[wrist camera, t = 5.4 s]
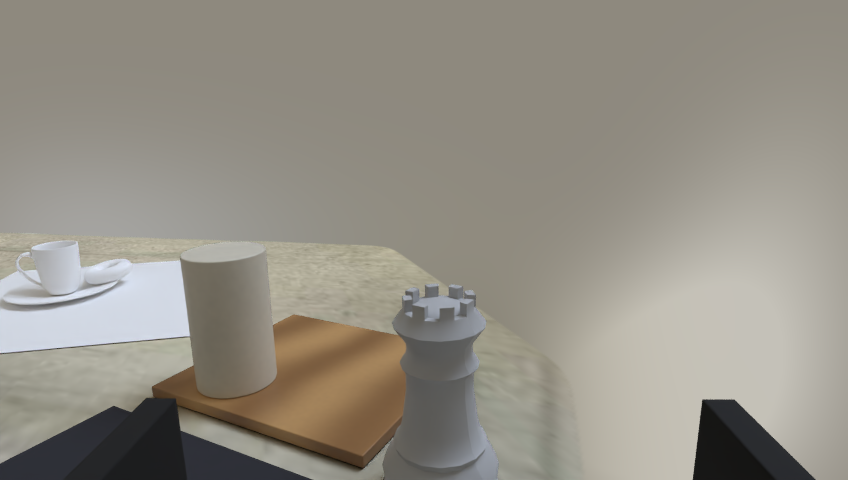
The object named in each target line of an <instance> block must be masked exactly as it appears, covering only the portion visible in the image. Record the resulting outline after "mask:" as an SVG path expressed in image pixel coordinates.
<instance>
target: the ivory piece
mask: <svg viewBox="0 0 848 480" xmlns="http://www.w3.org/2000/svg"><path fill="white" fill-rule="evenodd" d="M180 263H181V270H182V278H183V286H184V294H185V301H186V309H187V317H188V324H189V332H190V340H191V347H192V355H193V363H194V370H195V378H196V386H197V389H198V391H199V392H200V393H201V394H203V395H205V396H207V397H211V398H219V399H228V398H237V397H242V396H246V395H249V394H253V393H255V392H258V391H260V390H262V389H264V388H265V387H267V386H268V385H270V384H271V383H272V382H273V381H274V380H275V378H276V375H277V366H276V355H275V344H274V333H273V322H272V311H271V300H270V289H269V277H268V266H267V255H266V248H265V246H264V245H262V244H259V243H255V242H244V241H235V242H221V243H213V244H207V245H202V246H198V247H195V248H192V249H189V250H187V251H185V252H183V253H182V254H181V255H180Z"/></svg>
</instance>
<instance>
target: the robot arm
mask: <svg viewBox="0 0 848 480" xmlns="http://www.w3.org/2000/svg"><path fill="white" fill-rule="evenodd" d="M63 480H187V474H186V466H185V459H184V452H183V445H182V438H181V431H180V424H179V417H178V410H177V403H176V398H146V399H145V400H144V401H143V402H142V403H141V404H140V405H139V406H138V407H137V408H136V409H135V410H134V411H133V412H132V413H131V414H130V415H129V416H128V417H127V418H125V419H124V420H123V421H122V422H121V423H120V424H119V425H118V426H117V427H116V428H115V429H114V430H113V431H112V432H111V433H110V434H109V435H108V436H107V437H106V438H105V439H104V440H103V441H102V442H101V443H100V444H99V445H98V446H97V447H96V448H95V449H94V450H93V451H92V452H91V453H90V454H89V455H87V456H86V457H85V458H84V459H83V460H82V461H81V462H80V463H79V464H78V465H77V466H76V467H75V468H74V469H73V470H72V471H71V472H70V473H69V474H68V475H67V476H66V477H65V478H64V479H63ZM693 480H815V479H814V478H813V477H812V476H811V475H810V474H809V473H808V472H807V471H806V470H805V469H804V468H803V467H802V466H801V465H800V464H799V463H798V462H797V461H796V460H795V459H794V458H793V457H792V456H791V455H790V454H789V453H788V452H787V451H786V450H785V449H784V448H783V447H782V446H781V445H780V444H779V443H778V442H777V441H776V440H775V439H774V438H773V437H772V436H771V435H770V434H769V433H768V432H766V430H765V429H764V428H763V427H762V426H761V425H760V424H759V423H757V422H756V420H755V419H754V418H753V417H752V416H750V415H749V414H748V413H747V412H746V411H745V410H744V409H743V408H742V407H741V406H740V405H739V404H738V403H737V402H736V401H735V400H702V408H701V416H700V424H699V433H698V442H697V449H696V458H695V466H694V474H693Z"/></svg>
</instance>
